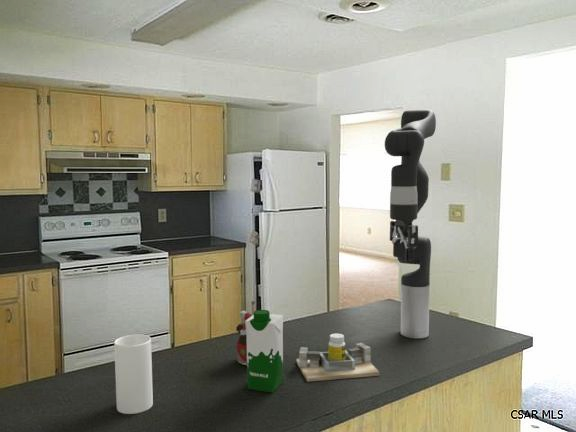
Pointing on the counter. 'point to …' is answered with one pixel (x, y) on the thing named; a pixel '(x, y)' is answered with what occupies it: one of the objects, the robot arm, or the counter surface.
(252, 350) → the milk carton
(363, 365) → the shaft bench
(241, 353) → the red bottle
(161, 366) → the counter surface
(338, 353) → the supplement bottle
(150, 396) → the cup
